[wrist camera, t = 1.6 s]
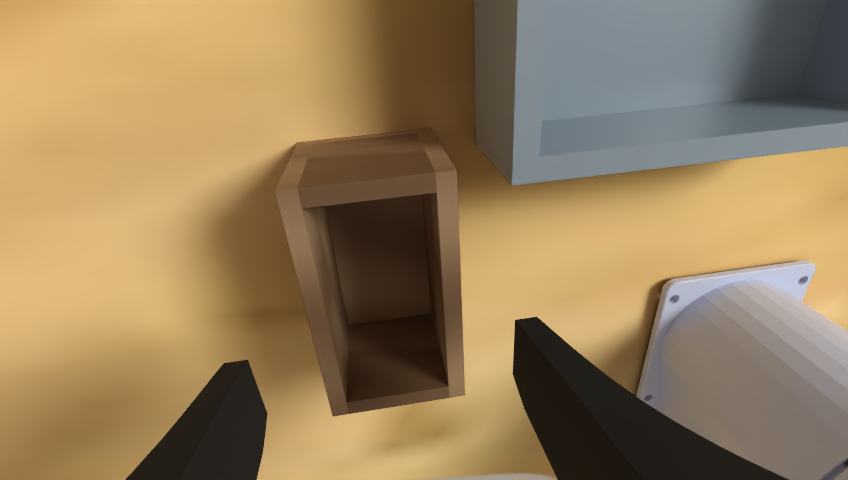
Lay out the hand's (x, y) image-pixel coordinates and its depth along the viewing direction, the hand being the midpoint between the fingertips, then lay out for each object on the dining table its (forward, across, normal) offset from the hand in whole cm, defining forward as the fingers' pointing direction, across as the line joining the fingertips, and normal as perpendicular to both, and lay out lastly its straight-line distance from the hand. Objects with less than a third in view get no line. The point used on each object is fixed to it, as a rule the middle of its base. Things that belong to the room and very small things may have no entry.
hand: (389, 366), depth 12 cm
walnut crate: (+8, 0, 0) cm, 8 cm away
